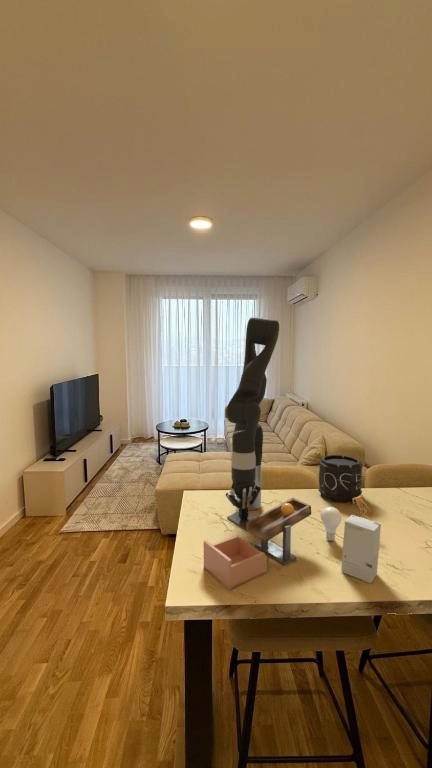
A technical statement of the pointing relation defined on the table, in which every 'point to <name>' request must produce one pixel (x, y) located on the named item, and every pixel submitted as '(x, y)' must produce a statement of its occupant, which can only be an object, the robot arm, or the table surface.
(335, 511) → the lightbulb
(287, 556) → the lever stand
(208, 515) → the table surface
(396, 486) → the table surface
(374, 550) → the skincare box
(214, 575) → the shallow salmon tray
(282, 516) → the lever trough
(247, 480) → the robot arm
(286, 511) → the ball
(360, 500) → the figurine
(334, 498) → the chalkboard pot
